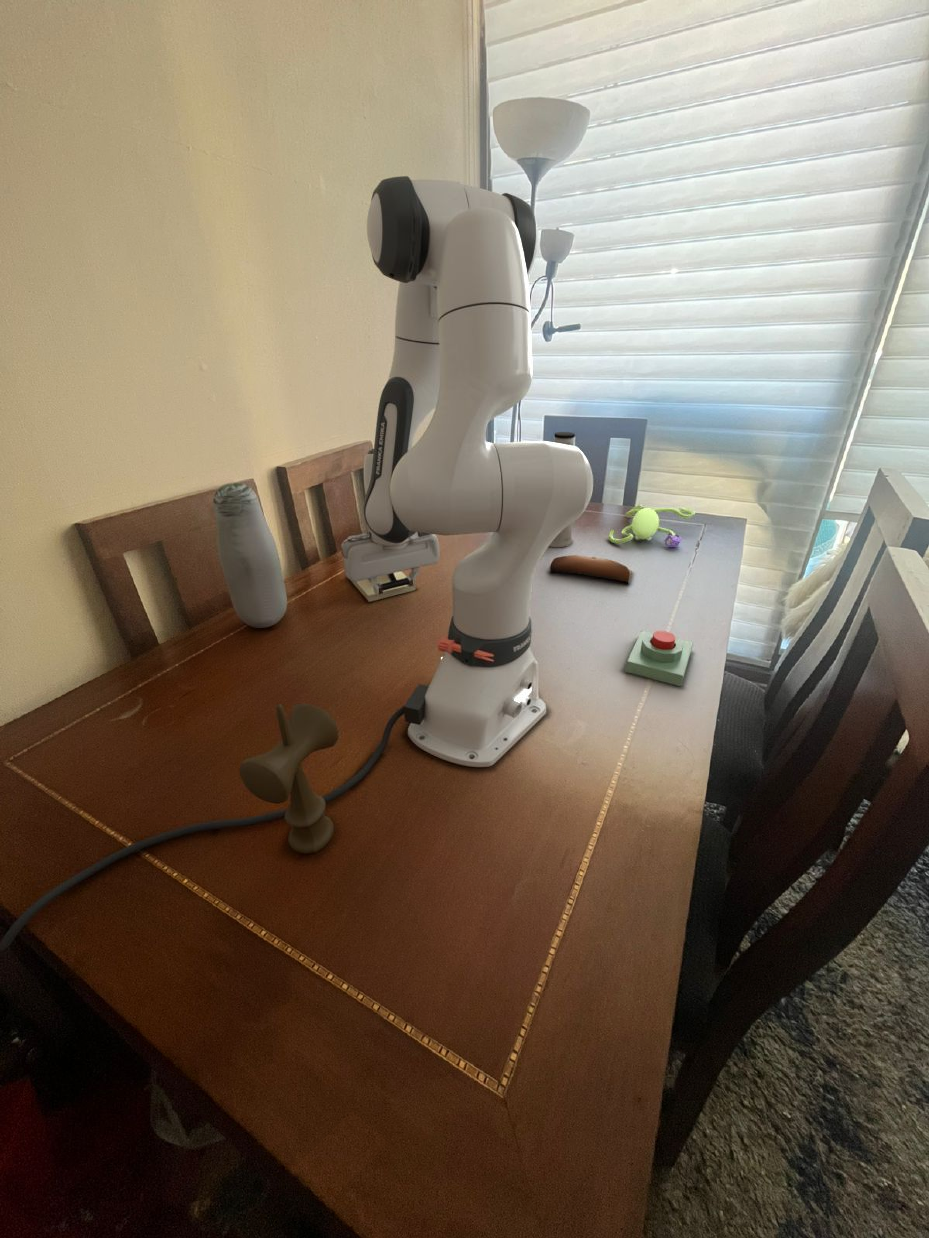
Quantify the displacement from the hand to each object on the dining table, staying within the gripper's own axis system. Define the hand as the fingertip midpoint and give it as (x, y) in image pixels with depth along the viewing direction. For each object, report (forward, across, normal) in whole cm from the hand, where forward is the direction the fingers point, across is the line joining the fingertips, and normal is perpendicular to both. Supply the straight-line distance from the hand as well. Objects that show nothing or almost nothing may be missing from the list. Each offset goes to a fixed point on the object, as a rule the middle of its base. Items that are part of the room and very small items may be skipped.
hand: (394, 589), depth 110 cm
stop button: (-3, +30, -45) cm, 55 cm away
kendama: (0, -32, -50) cm, 59 cm away
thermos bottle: (+3, +50, +8) cm, 51 cm away
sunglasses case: (+2, +45, -12) cm, 46 cm away
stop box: (0, +30, -46) cm, 55 cm away
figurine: (+2, +76, 0) cm, 76 cm away
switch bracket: (+3, 0, +8) cm, 9 cm away
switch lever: (-4, 0, +5) cm, 6 cm away
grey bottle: (+3, -26, +4) cm, 27 cm away
